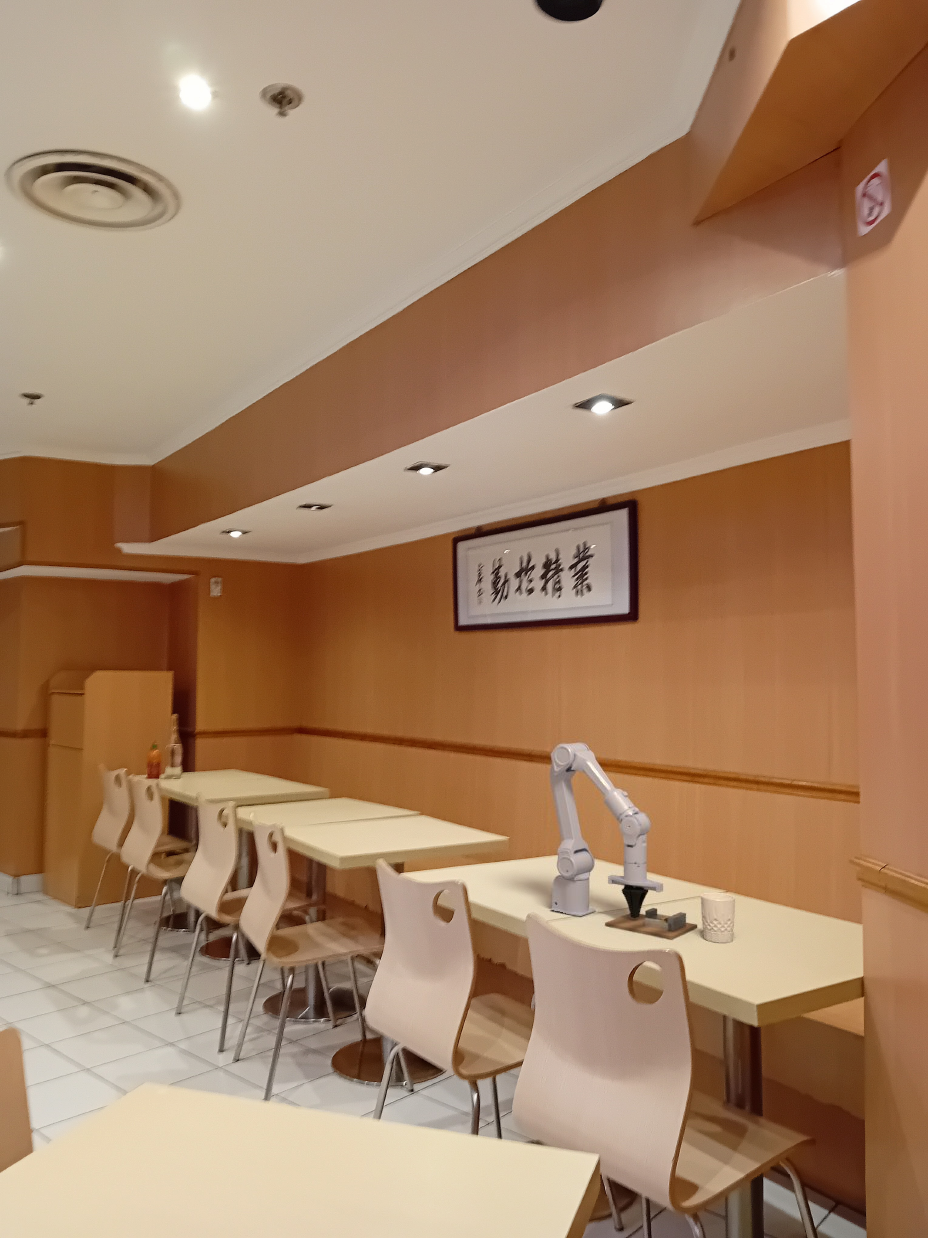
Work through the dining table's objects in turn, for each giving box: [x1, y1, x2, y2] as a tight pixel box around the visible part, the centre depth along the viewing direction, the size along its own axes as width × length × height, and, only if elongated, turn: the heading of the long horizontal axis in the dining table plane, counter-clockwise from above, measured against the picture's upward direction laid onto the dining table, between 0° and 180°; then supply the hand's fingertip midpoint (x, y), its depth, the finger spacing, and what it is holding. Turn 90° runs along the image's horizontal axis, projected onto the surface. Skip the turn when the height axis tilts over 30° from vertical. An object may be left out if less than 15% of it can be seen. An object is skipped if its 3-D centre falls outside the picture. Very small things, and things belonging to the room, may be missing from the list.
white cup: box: [700, 892, 736, 944], centre depth 214 cm, size 8×8×10 cm
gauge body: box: [645, 911, 687, 932], centre depth 222 cm, size 8×7×3 cm
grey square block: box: [644, 907, 668, 921], centre depth 222 cm, size 6×6×3 cm
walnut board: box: [604, 912, 698, 941], centre depth 224 cm, size 18×14×1 cm
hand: (635, 917), depth 227 cm, fingers closed
